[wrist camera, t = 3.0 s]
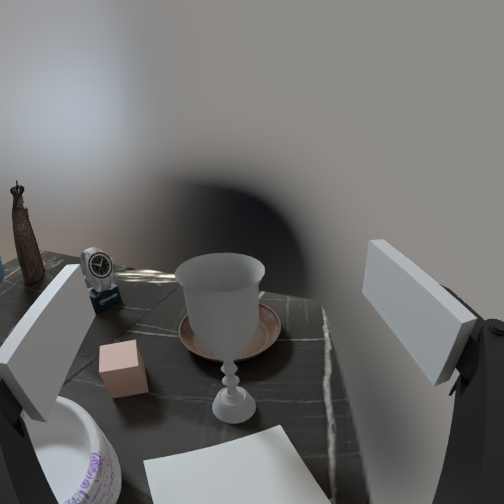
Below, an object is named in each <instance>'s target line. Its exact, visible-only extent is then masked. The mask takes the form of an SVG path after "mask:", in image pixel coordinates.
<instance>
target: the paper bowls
mask: <svg viewBox="0 0 504 504" xmlns="http://www.w3.org/2000/svg"><path fill="white" fill-rule="evenodd" d="M20 416H21V417H22V418H23V420H24V422H25V425H26V428H27V431H28V434H29V437H30V439H31V442H32V445H33V448H34V450H35V453H36V455H37V458H38V460H39V463H40V465H41V467H42V470H43V472H44V474H45V477H46V479H47V481H48V483H49V485H50V487H51V489H52V491H53V493H54V495H55V497H56V499H57V501H58V503H59V504H116V502H117V500H118V497H119V494H120V491H121V469H120V464H119V460H118V458H117V455H116V453H115V451H114V449H113V447H112V445H111V444H110V442H109V441H108V440H107V438H106V437H105V435H104V434H103V432H102V431H101V430H100V428H99V427H98V426H97V424H96V423H95V421H94V420H93V418H92V417H91V416H90V415H89V413H88V412H87V411H85V410H84V409H83V408H82V407H81V406H79V405H78V404H76V403H75V402H73V401H71V400H68V399H66V398H63V397H60V396H58V397H57V399H56V401H55V404H54V406H53V409H52V411H51V414H50V417H49V419H48V422H47V423H45V422H41V421H36V420H32V419H31V418H30V417H29V416H28V415H27V413H26V412H25V411H24V409H23V410H22V412H21V414H20Z"/></svg>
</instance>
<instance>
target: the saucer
mask: <svg viewBox="0 0 504 504" xmlns="http://www.w3.org/2000/svg"><path fill="white" fill-rule="evenodd" d="M280 331H281V323H280V320H279V317H278V316H277V314H276V313H275V312H274V311H273V310H272V309H271V308H269V307H268V306H266V305H264V304H262V303H259V323H258V326H257V328H256V331H255V333H254V335H253V338H252V339H251V341H250V343H249V344H248V346H247V347H246V349H245V350H244V352H243V353H242V355H241V356H240V357H239V358H238V359H236V360H234V361H233V362H240V361H245V360H248V359H251V358H253V357H256V356H258V355H259V354H261V353H263V352H264V351H266V350H267V349H268V348H269V347H270V346H271V345H272V344H273V343H274V342H275V341H276V340H277V338H278V336H279V334H280ZM179 336H180V339H181V341H182V343H183V344H184V345H185V346H186V347H187V348H188V349H189V350H190V351H192V352H193V353H195V354H196V355H198V356H200V357H202V358H205V359H207V360H211V361H215V362H221V363H224V361H220V360H218V359H216V358H215V357H214V356H213V355H212V354H211V353H210V352H209V351H208V350H207V348H206V347H205V346H204V345H203V344H202V343H201V342H200V341H199V339H198V338H197V336H196V335H195V333H194V332H193V330H192V329H191V327H190V323H189V318H188V314H187V315H186V316H185V317H184V318H183V319H182V321H181V323H180V326H179Z"/></svg>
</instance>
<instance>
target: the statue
mask: <svg viewBox="0 0 504 504" xmlns="http://www.w3.org/2000/svg"><path fill="white" fill-rule="evenodd" d="M16 184H17V185H16V187H13V188H11V190H10V191H11V194H12V195H13V198H14V199H13V208H12V221H13V233H14V240H15V246H16V251H17V256H18V260H19V264H20V267H21V271H22V274H23V278H24V281H25V282H26V283H27V284H32V283H34V282H36V281H38V280H40V278H41V277H42V276H43V274H44V271H45V268H44V265H43V262H42V259H41V255H40V251H39V248H38V245H37V242H36V238H35V235H34V233H33V230H32V227H31V224H30V221H29V218H28V217H29V215H28V209H27V208H25V209H24V207H23V203H24V201H23V197H22V194H23V192H24V187H23V186H21V185H20V186H19V185H18V183H17V181H16ZM18 188H19V189H20V190H19V193H18ZM13 189H14V191H13ZM15 189H16V191H15Z"/></svg>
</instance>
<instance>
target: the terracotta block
mask: <svg viewBox="0 0 504 504" xmlns="http://www.w3.org/2000/svg"><path fill="white" fill-rule="evenodd" d="M99 373H100V375H101V377H102V379H103V381H104V383H105V385H106V387H107V389H108V391H109V393H110V395H111V396H112V398H118V397H124V396H130V395H136V394H142V393H147V392H149V390H148V385H147V379H146V372H145V366H144V363H143V360H142V358H141V355H140V352H139V349H138V346H137V343H136V340H131V341H126V342H120V343H115V344H109V345H103V346H100V361H99Z"/></svg>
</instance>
